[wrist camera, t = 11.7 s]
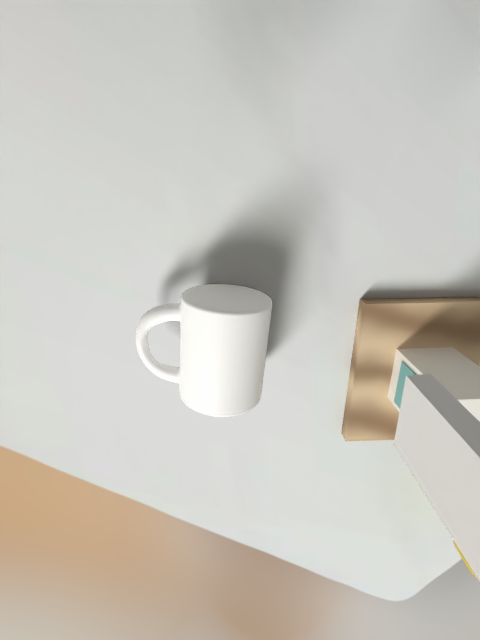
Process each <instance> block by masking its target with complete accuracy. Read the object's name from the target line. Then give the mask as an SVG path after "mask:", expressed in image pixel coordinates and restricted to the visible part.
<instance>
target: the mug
mask: <svg viewBox="0 0 480 640" xmlns="http://www.w3.org/2000/svg"><path fill="white" fill-rule="evenodd" d="M271 311H272V300H271V299H270V297H269V296H267V295H266V294H264V293H263V292H260V291H258V290H255V289H252V288H248V287H244V286H238V285H230V284H207V285H200V286H195V287H192V288H190V289H188V290H186V291H185V292H184V293H183V294H182V296H181V303H180V304H166V305H161V306H157V307H154V308H152V309H150V310H149V311H147V312H146V313H145V314H144V315H143V316H142V317H141V319H140V321H139V323H138V325H137V329H136V345H137V349H138V352H139V355H140V357H141V359H142V361H143V362H144V364H145V365H146V366H147V368H148V369H149V370H150V371H151V372H153V373H154V374H155V375H157V376H158V377H160V378H162V379H165V380H168V381H171V382H176V383H179V385H180V396H181V398H182V400H183V402H184V403H185V404H186V405H187V406H188V407H190V408H191V409H193V410H195V411H197V412H199V413H202V414H205V415H209V416H216V417H230V416H236V415H240V414H243V413H246V412H248V411H250V410H251V409H253V408H254V407H255V406H256V405H257V404H258V402H259V401H260V398H261V392H262V384H263V376H264V367H265V359H266V351H267V343H268V335H269V327H270V319H271ZM167 321H180V323H181V337H180V366H179V367H175V366H170V365H166V364H163V363H161V362H159V361H157V360H156V359H155V358H154V357H153V355H152V354H151V352H150V349H149V345H148V331H149V329H150V328H151V327H152V326H154V325H156V324H158V323H162V322H167Z"/></svg>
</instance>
